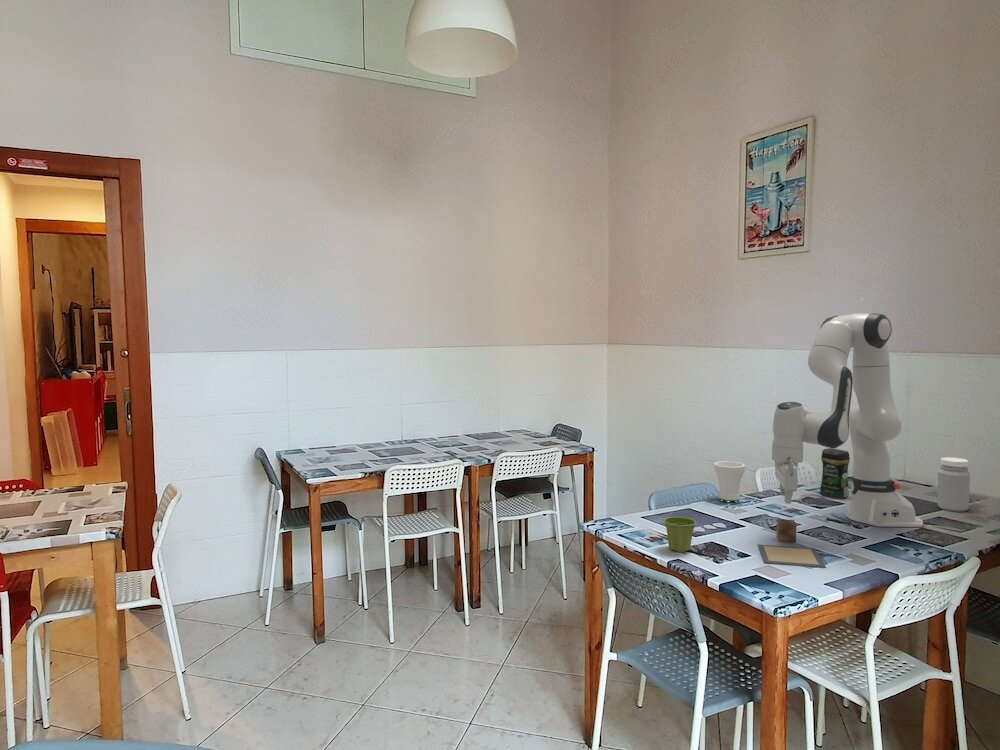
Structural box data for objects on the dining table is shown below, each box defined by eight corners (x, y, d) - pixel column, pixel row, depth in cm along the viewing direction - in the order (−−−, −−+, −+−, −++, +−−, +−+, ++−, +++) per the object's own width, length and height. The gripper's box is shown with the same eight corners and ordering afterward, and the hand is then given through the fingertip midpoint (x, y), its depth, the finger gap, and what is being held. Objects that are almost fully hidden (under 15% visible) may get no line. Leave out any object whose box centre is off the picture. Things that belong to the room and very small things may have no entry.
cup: (749, 504, 251) (750, 466, 250) (720, 505, 250) (721, 467, 249) (736, 496, 262) (737, 460, 261) (709, 497, 261) (709, 461, 260)
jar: (973, 513, 235) (974, 462, 234) (940, 511, 239) (942, 461, 237) (964, 506, 244) (966, 457, 243) (933, 504, 248) (935, 456, 246)
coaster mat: (814, 549, 199) (814, 548, 199) (825, 567, 184) (825, 566, 184) (757, 545, 204) (757, 544, 204) (763, 563, 188) (763, 562, 188)
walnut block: (793, 538, 210) (793, 519, 209) (796, 543, 205) (796, 524, 205) (776, 537, 211) (776, 518, 211) (778, 542, 206) (779, 523, 206)
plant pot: (660, 544, 206) (660, 516, 205) (691, 544, 206) (691, 516, 205) (667, 554, 197) (667, 525, 196) (699, 554, 196) (699, 525, 196)
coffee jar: (816, 495, 263) (817, 448, 262) (829, 492, 267) (830, 446, 266) (840, 500, 255) (841, 452, 253) (852, 497, 259) (853, 450, 257)
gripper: (804, 462, 195) (802, 508, 196) (793, 449, 215) (791, 492, 216) (780, 460, 197) (779, 506, 198) (772, 448, 217) (770, 490, 218)
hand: (785, 499), depth 207 cm, fingers open, 8 cm apart
